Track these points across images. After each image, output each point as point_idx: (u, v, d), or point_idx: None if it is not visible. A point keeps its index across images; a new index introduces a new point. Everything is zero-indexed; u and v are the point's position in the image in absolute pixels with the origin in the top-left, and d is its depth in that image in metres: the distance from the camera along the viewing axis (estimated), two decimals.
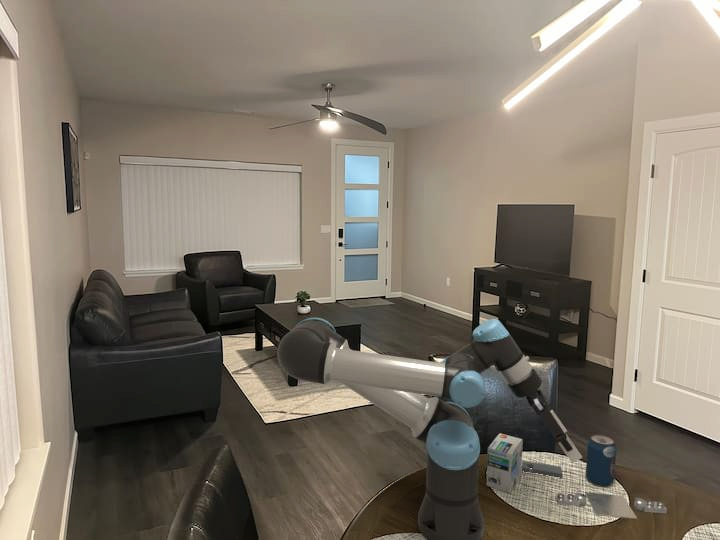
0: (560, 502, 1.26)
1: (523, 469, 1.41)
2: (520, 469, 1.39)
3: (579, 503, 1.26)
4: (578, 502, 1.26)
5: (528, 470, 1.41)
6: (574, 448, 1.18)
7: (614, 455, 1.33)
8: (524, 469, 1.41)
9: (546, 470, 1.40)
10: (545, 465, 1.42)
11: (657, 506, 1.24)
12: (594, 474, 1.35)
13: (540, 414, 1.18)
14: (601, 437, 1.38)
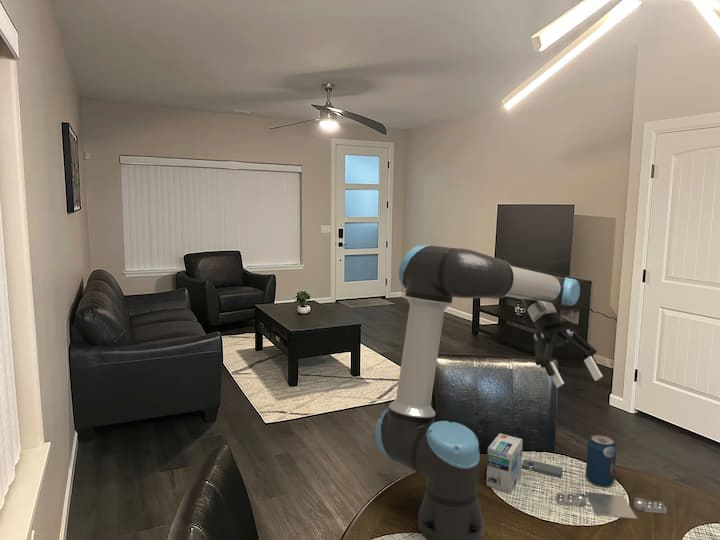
0: (560, 502, 1.26)
1: (522, 466, 1.43)
2: (520, 469, 1.39)
3: (579, 503, 1.26)
4: (578, 502, 1.26)
5: (527, 468, 1.42)
6: None
7: (614, 455, 1.33)
8: (523, 467, 1.42)
9: (545, 469, 1.40)
10: (546, 465, 1.43)
11: (657, 506, 1.24)
12: (594, 474, 1.34)
13: None
14: (601, 437, 1.37)
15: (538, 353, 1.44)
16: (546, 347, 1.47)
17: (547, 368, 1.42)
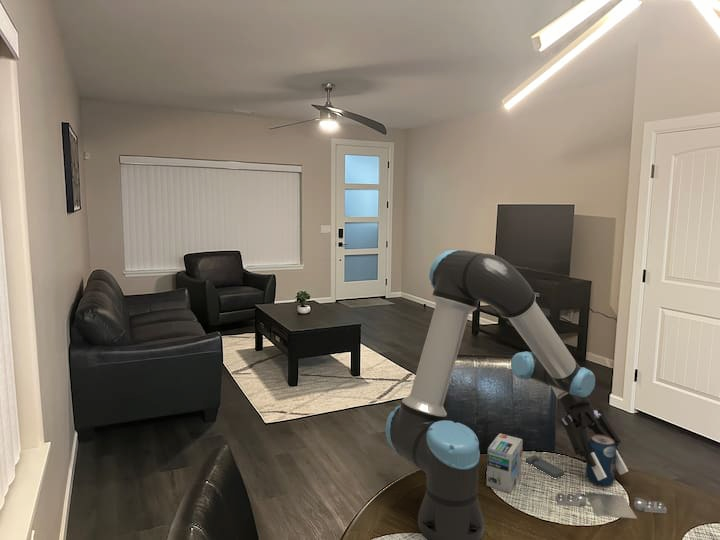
0: (560, 502, 1.26)
1: (526, 460, 1.46)
2: (520, 469, 1.39)
3: (579, 503, 1.26)
4: (578, 502, 1.26)
5: (529, 462, 1.45)
6: None
7: (614, 455, 1.33)
8: (526, 460, 1.46)
9: (544, 467, 1.41)
10: (550, 464, 1.43)
11: (657, 506, 1.24)
12: (594, 474, 1.35)
13: None
14: (601, 437, 1.38)
15: (575, 442, 1.36)
16: (578, 431, 1.39)
17: (588, 459, 1.34)
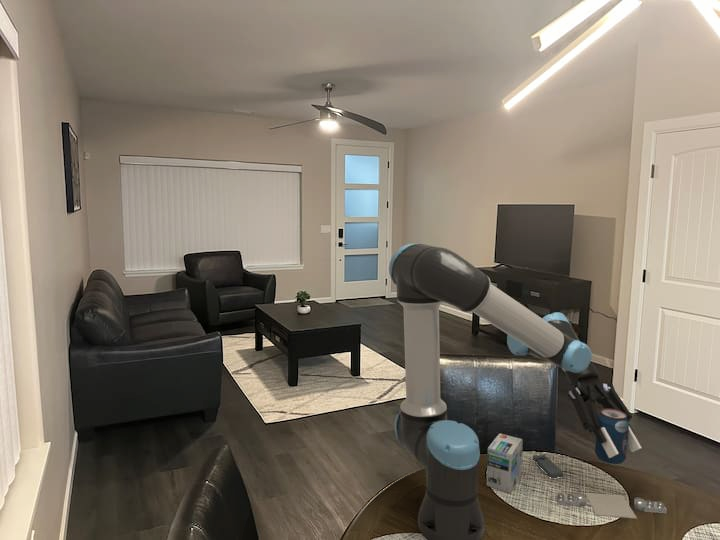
0: (560, 502, 1.26)
1: (533, 457, 1.48)
2: (520, 469, 1.39)
3: (579, 503, 1.26)
4: (578, 502, 1.26)
5: (535, 460, 1.47)
6: None
7: (627, 430, 1.22)
8: (533, 457, 1.48)
9: (544, 466, 1.42)
10: (553, 465, 1.43)
11: (657, 506, 1.24)
12: (605, 451, 1.23)
13: None
14: (612, 411, 1.26)
15: (583, 416, 1.24)
16: (586, 405, 1.28)
17: (598, 434, 1.22)
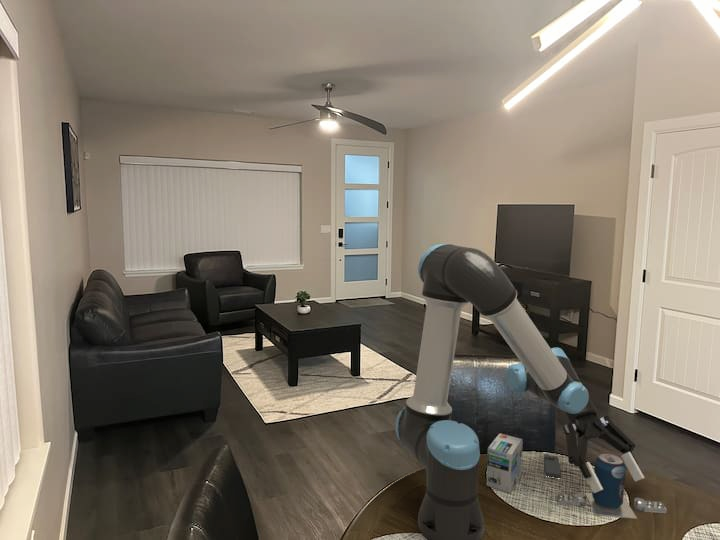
0: (560, 502, 1.26)
1: None
2: (520, 469, 1.39)
3: (579, 503, 1.26)
4: (578, 502, 1.26)
5: None
6: None
7: (623, 476, 1.23)
8: None
9: (546, 465, 1.43)
10: (556, 466, 1.42)
11: (657, 506, 1.24)
12: (601, 496, 1.24)
13: None
14: None
15: (571, 450, 1.25)
16: (579, 441, 1.28)
17: (583, 469, 1.23)
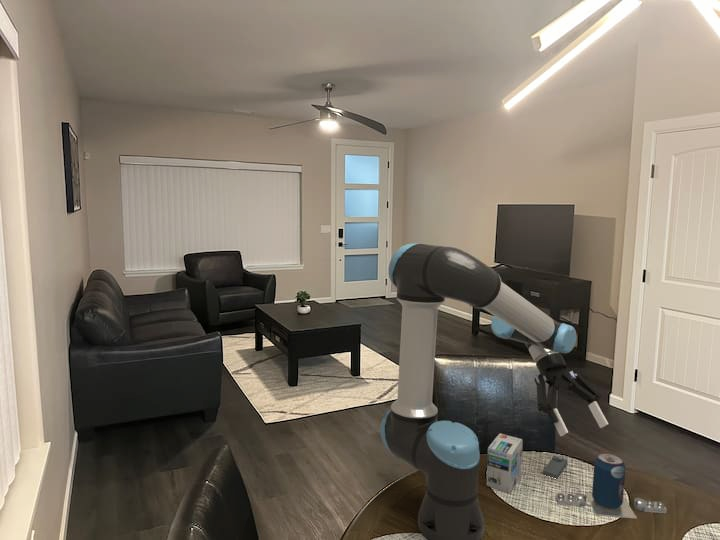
0: (560, 502, 1.26)
1: None
2: (520, 469, 1.39)
3: (579, 503, 1.26)
4: (578, 502, 1.26)
5: None
6: None
7: (623, 476, 1.23)
8: None
9: (548, 464, 1.43)
10: (558, 467, 1.41)
11: (657, 506, 1.24)
12: (601, 496, 1.24)
13: None
14: None
15: (540, 398, 1.35)
16: (549, 391, 1.38)
17: (550, 415, 1.32)
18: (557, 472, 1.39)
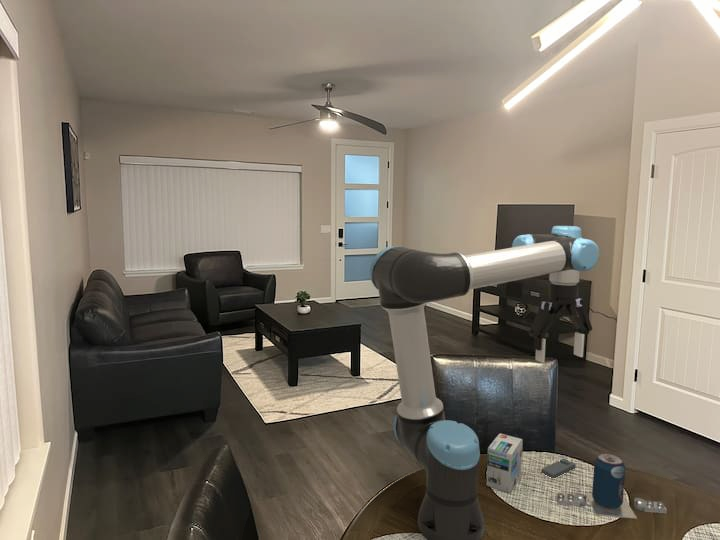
0: (560, 502, 1.26)
1: None
2: (520, 469, 1.38)
3: (579, 503, 1.26)
4: (578, 502, 1.26)
5: None
6: None
7: (623, 476, 1.23)
8: None
9: (551, 464, 1.43)
10: (560, 468, 1.41)
11: (657, 506, 1.24)
12: (601, 496, 1.24)
13: None
14: None
15: (535, 326, 1.36)
16: (547, 317, 1.38)
17: (537, 343, 1.37)
18: (555, 472, 1.39)
